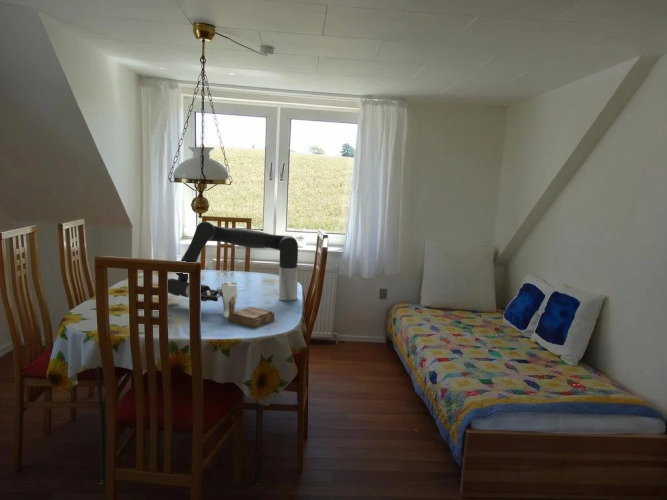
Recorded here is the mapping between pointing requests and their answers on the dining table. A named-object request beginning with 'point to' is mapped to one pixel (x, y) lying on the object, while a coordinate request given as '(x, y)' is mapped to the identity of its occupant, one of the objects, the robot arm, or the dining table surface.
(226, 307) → the beer glass
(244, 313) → the walnut stand
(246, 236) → the robot arm
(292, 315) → the dining table surface
